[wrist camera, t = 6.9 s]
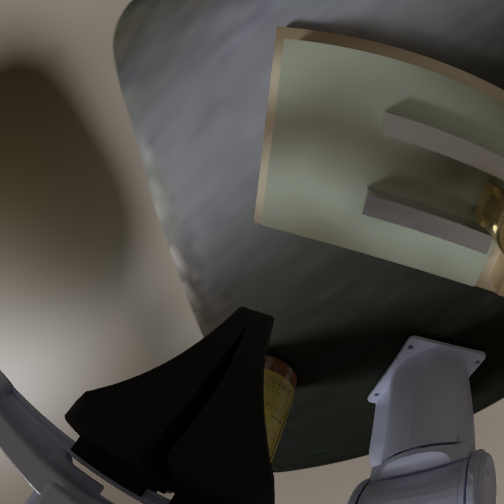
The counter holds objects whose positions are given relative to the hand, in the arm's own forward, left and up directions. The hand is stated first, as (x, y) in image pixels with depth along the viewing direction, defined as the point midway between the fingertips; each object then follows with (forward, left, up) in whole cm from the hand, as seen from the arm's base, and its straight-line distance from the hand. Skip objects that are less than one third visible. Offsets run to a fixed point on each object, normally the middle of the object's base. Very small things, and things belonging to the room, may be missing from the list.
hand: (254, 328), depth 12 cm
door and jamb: (+6, -10, -9) cm, 15 cm away
